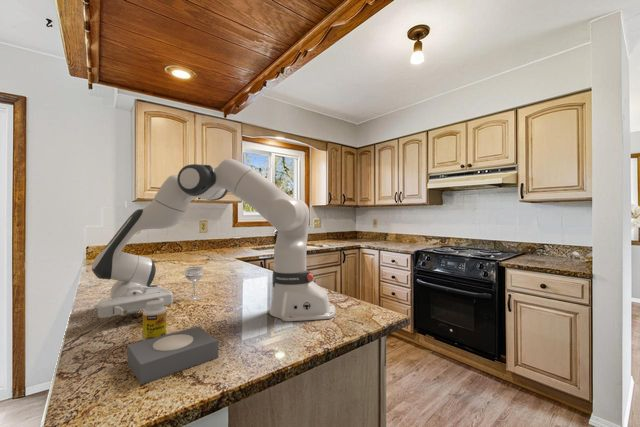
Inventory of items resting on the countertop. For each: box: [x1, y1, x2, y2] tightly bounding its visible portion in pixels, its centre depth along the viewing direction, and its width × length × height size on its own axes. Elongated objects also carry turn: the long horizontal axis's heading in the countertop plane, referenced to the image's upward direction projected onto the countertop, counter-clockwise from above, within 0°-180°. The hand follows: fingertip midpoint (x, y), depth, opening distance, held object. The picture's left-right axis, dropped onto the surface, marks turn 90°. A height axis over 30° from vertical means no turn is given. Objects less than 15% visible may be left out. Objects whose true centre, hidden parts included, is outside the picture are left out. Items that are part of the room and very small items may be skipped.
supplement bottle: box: [142, 300, 167, 341], centre depth 80 cm, size 6×6×10 cm
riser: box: [126, 325, 219, 385], centre depth 69 cm, size 16×12×4 cm
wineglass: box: [184, 266, 204, 301], centre depth 118 cm, size 7×7×12 cm
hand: (143, 308), depth 88 cm, fingers open, 8 cm apart
